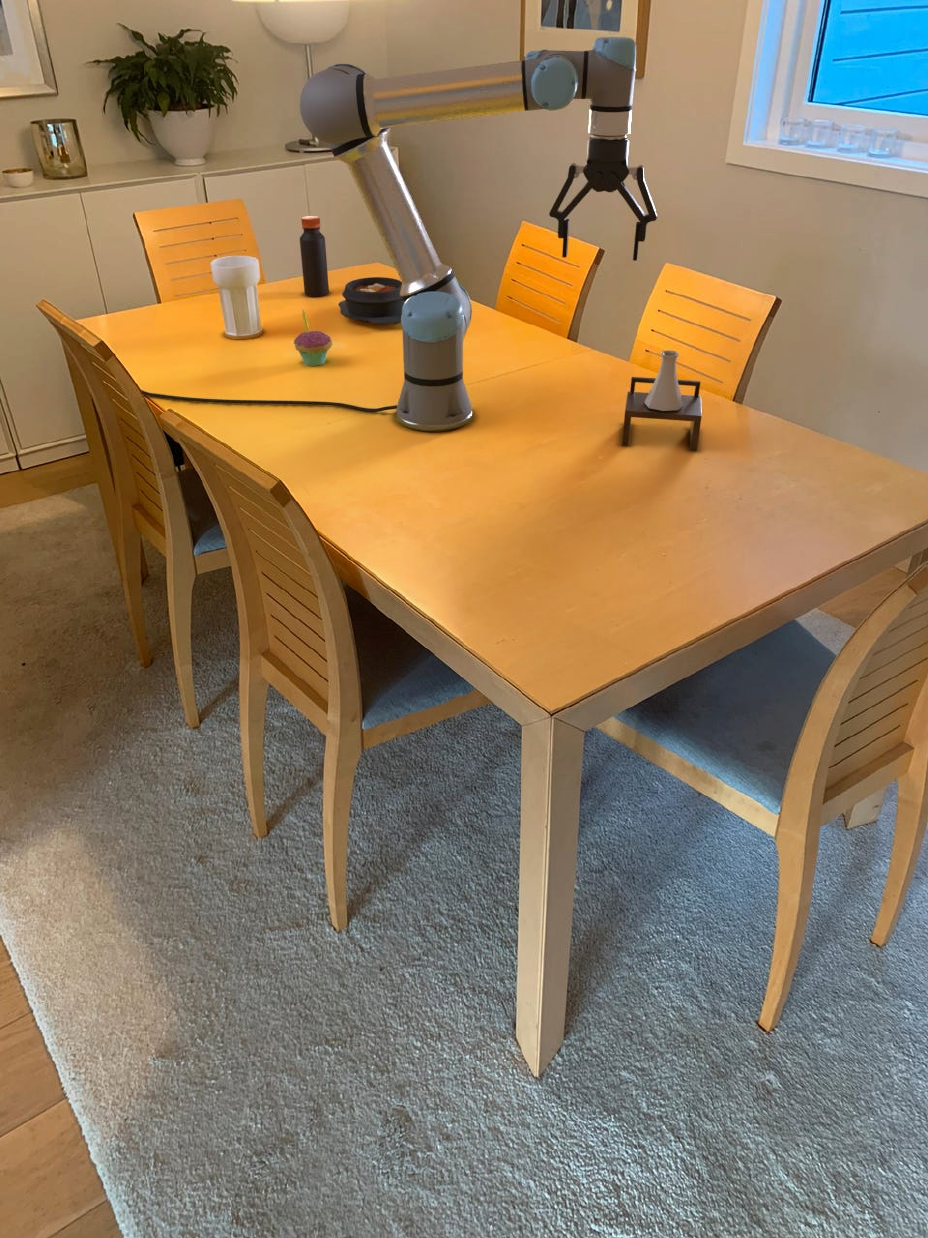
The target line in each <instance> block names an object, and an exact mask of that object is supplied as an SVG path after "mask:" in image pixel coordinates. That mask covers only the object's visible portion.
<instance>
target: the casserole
mask: <svg viewBox="0 0 928 1238" xmlns="http://www.w3.org/2000/svg"><path fill="white" fill-rule="evenodd" d="M401 287H402V280H401V279H396V278H392V277H385V276H384V277H382V276H372V277H371V276H369V277H362V278H361V277H360V278H356V279H353V280H350V281H348V282H347V283H346V284H345V287H344V289H343V291H342V293H341V295H342V297H343V298H344V300H341V301H339V302H338V304H337V306H338V307H339V308H340V309H339V312H340V314H341V315H342V316H344V317H345V318H347V319H350V320H354V321H357V322H361V323H367V324H374V325H394V324H400V323H401V316H402V308H403V305H404V302H403V300H402V298H401V296H400V290H401ZM401 324H402V323H401Z"/></svg>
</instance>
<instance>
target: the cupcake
mask: <svg viewBox="0 0 928 1238" xmlns="http://www.w3.org/2000/svg"><path fill="white" fill-rule="evenodd" d="M301 310H302V318H303V322H304V327H305V331H303V332H301V333H299V334H298V335H297V337H295V339H294V340H293V344H294V348H295V350H296V351H298V353H299V355H300V357H301V359H302V361H303V364H304V365H306V366H310V367H318V366H322V365H324V364H325V363H326V358H327V355H328V351H329V350H330V349H331V348H332V346H333V340H332V338H331V337H330V335H328V334H327V333H325V332H323V331H321V330H310V328H309V323H308V320H307V319H308V318H307V315H306V312H305V311H304V309H303V308H302V309H301Z"/></svg>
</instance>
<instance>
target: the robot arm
mask: <svg viewBox="0 0 928 1238" xmlns="http://www.w3.org/2000/svg"><path fill="white" fill-rule="evenodd" d="M524 58H525V59H523V60H515V61H508V62H500V63H490V64H482V65H475V66H466V67H459V68H451V69H444V70H435V71H428V72H418V73H411V74H403V75H396V76H389V77H380V78H375V77H373V76H372V75H371V74H370V73H369V72H367V71H365V70H364V69H363V68H361V67H358V66H356V65H353V64H350V63H335V64H334V65H331V66H328V67H327V68H325V69H323V70H320V71H318V72H315V73H314V74H313V75H312V76H310V78H309V79H307V81H306V82H305V83H304V85H303V87H302V90H301V92H300V98H299V111H300V112H299V113H300V116H301V119H302V123H303V124H304V126H305V128H306V130H308V131H309V133H310V134H311V135H312V136H313V137H315V138H316V139H318V140H319V141H321V142H323V143H327V145H328V147H329V149H330V151H331V153H332V155H333V156H334V159H336V160H338V161H340V162H343V163H344V164H345V165H346V167H347V168H348V170H349V172H350V174H351V176H352V179H353V181H354V183H355V185H356V187H357V189H358V192H359V193H360V196H361V198H362V200H363V202H364V204H365V207H366V208H367V211H368V213H369V215H370V217H371V219H372V221H373V223H374V225H375V227H376V230H377V232H378V235H379V236H380V238H381V240H382V242H383V244H384V246H385V248H386V251H387V253H388V255H389V258H390V259H391V261H392V264H393V266H394V267H395V270H396V271H397V275H398V276H399V278H400V281H402V287H401V290H400V296H401V298H402V300H403V302H404V305H403V308H402V316H401V327H402V329H401V330H402V352H403V353H402V354H403V355H402V356H403V377H404V378H403V379H404V380H403V384H402V388H401V391H400V394H399V398H398V402H397V404H396V405H387V406H381V407H377V408H374V407H372V408H370V407H361V406H357V405H353V404H349V403H344V402H333V401H319V400H318V401H317V400H277V399H276V400H272V399H271V400H270V399H269V400H267V399H265V400H264V399H261V400H260V399H222V398H220V399H219V398H204V397H203V398H202V397H189V396H179V395H172V394H171V395H170V394H161V393H155V392H149V391H145V390H143V389H140V390H141V391H142V395H144V396H147V397H152V398H159V399H168V400H177V401H187V402H200V403H213V404H215V403H216V404H248V405H249V404H253V405H254V404H255V405H304V406H305V405H306V406H307V405H308V406H309V405H310V406H311V405H312V406H329V407H330V406H331V407H340V408H348V409H351V410H356V411H360V412H365V413H366V412H367V413H378V412H384V411H389V410H390V411H391V410H396V420H397V422H398V423H399V424H401V425H402V426H403V427H405V428H408V429H412V430H414V431H420V432H446V431H451V430H456V429H459V428H461V427H463V426H466V425H468V424H469V423H470V422H471V420H472V419H473V406H472V403H471V400H470V396H469V394H468V391H467V388H466V385H465V382H464V339H465V337H466V334H467V331H468V328H469V326H470V324H471V321H472V317H473V316H472V314H473V309H472V302H471V298H470V296H469V293H468V292H467V290H466V289H465V288H464V287H463V286H462V284H461V283H459V282H458V280H457V278H456V275H455V273H454V271H453V268H452V267H451V266H449V265H446V264H443V263H442V262H441V260H440V258H439V256H438V253H437V251H436V249H435V247H434V245H433V242H432V240H431V238H430V236H429V233H428V232H427V229H426V227H425V224H424V222H423V220H422V218H421V216H420V214H419V211H418V209H417V207H416V204H415V202H414V200H413V198H412V195H411V194H410V192H409V189H408V186H407V184H406V182H405V180H404V178H403V175H402V173H401V171H400V169H399V166H398V164H397V162H396V160H395V157H394V155H393V153H392V151H391V149H390V147H389V144H388V138H389V134H390V131H391V129H390V128H398V127H406V126H414V125H422V124H429V123H430V124H431V123H439V122H447V121H456V120H462V119H463V120H464V119H469V118H470V119H471V118H479V117H486V116H495V115H502V114H511V113H519V112H527V111H528V112H529V111H530V112H532V111H538V110H546V111H549V112H551V111H553V112H554V111H558V110H562V109H564V108H566V107H568V105H570V103H571V102H572V101H573V100H590V105H589V114H588V129H587V132H588V134H589V135H591V136H589V137H588V139H587V145H586V146H587V148H586V150H587V151H586V161H585V165H579V164H577V163H575V162H572V163H571V164H570V165H569V167H568V171H567V172H568V173H567V178H566V180H565V182H564V184H563V186H562V187H561V190H560V191H559V193H558V195H557V197H556V199H555V200H554V203H553V205H552V207H551V208H550V210H549V214H548V216H549V217H550V218H553V219H556V220H557V222H558V223H557V226H558V227H557V237H558V239H562V253H561V254H562V256H561V258H567V257H568V252H569V251H568V250H569V233H570V218H567V217H568V216H569V215H570V214H571V212H572V211H574V210H575V208H576V207H577V206H578V205H579V204H580V203H581V202H582V201H583V199H584V198H585V197H586V196H587V195H588V194H589V193H590V191H591V190H593V191H594V192H596V193H602V192H607V193H614V192H616V191H617V192H618V193H619V194H620V196H621V197H622V198H623V200H624V201H625V203H626V204H627V206H628V207H629V208H630V210H631V211H632V212H633V214H634V216H635V217H636V218H637V220H638V221H636V224H635V234H634V245H633V253H632V261H634V262H636V261H638V256H639V255H638V253H639V243H641V242H643V243H644V242H645V240H646V235H647V226H648V224H650V223H651V222H655V221H657V219H658V213H657V209H656V206H655V204H654V202H653V199H652V196H651V193H650V190H649V188H648V185H647V183H646V180H645V168H644V165H642V164H639V165H638V166H632V167H629V164H628V161H629V148H630V139H629V138H628V136H629V135H630V134H631V124H632V115H633V114H632V113H633V100H634V90H635V79H636V71H637V43H636V42H635V40H634V39H633V38H631V37H624V36H608V37H607V36H603V37H602V36H601V37H600V36H599V37H597V38H595V40H594V42H593V46H592V49H588V50H583V51H582V50H554V49H553V50H552V49H541V50H530V51H528V52H527V53H526V54H525V57H524ZM580 174H583V176H584V178H585V179H586V180H587V182H586V183H585V184H584V185H583V186H582V188H581V189H580V190H578V192H577V193H576V195H575V196H574V197H573V198H572V199H571V200H570V201H569V202H568V204H567V205H565V207H564V208H563V209H562V210H559V209H560V207H561V205H562V203H563V201H564V200H565V197H566V196H567V193H568V192H569V190H570V188H571V186H572V184H573V183H574V180H575V179H578V178H579V177H580ZM629 175H631V178H632V179H633V180H634V181H636V182H637V187H638V189H639V191H640V192H639V193H640V194H641V198H642V201H643V202H644V206H645V208H646V210H647V214H646V213H645V211H644V210H643V209H642V207H641V206H640V204H639V203H638V201H637V200H636V199H635V197H634V195H633V194H632V193H631V191H630V190H629V188H628V186H627V185H626V183H625V180H626V179H627V178H628V177H629Z"/></svg>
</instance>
